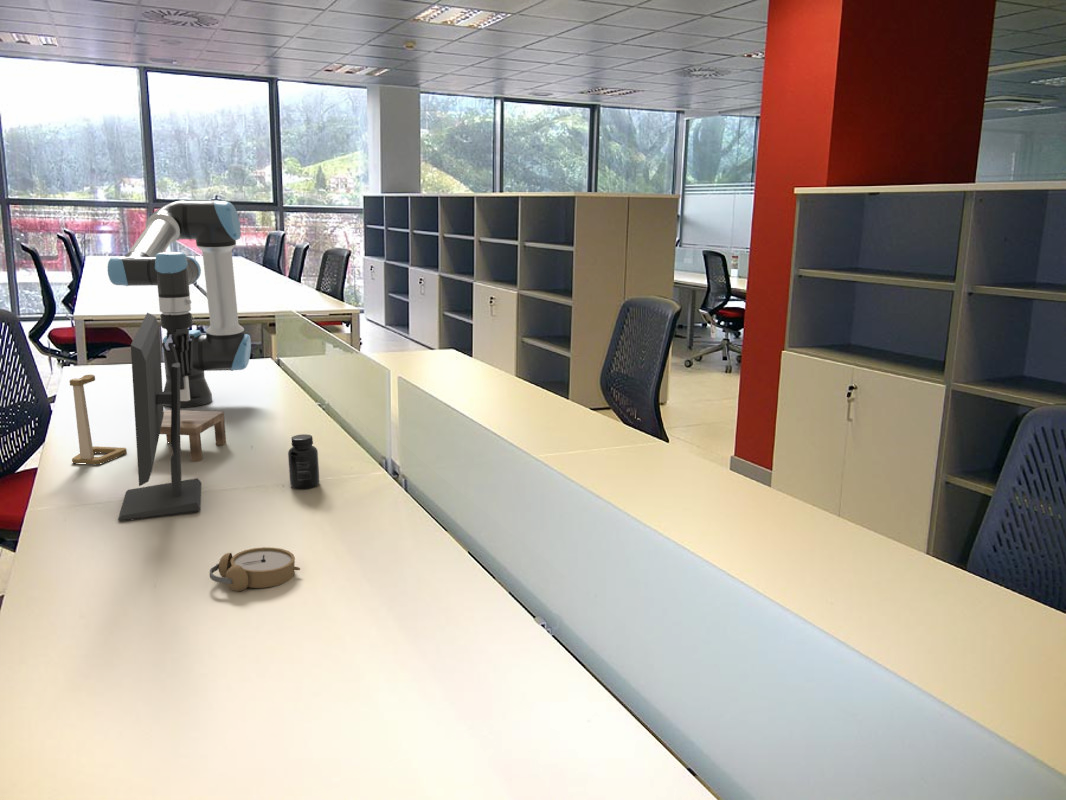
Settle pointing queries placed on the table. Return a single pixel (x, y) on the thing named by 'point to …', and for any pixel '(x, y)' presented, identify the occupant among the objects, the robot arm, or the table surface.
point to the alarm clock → (255, 568)
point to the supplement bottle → (303, 462)
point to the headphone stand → (88, 428)
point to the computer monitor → (156, 432)
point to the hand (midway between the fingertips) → (184, 400)
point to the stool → (196, 428)
